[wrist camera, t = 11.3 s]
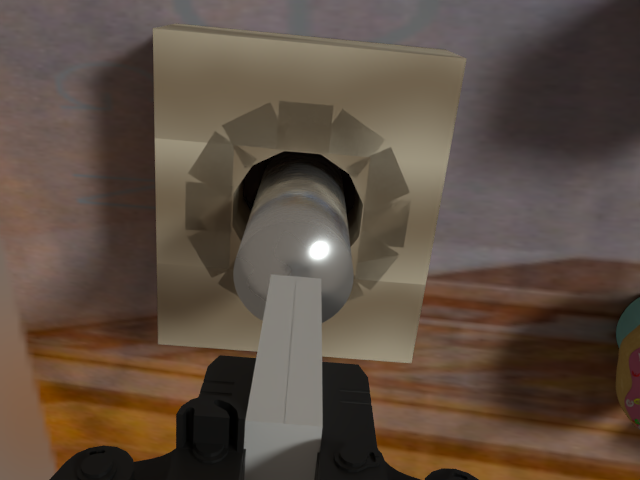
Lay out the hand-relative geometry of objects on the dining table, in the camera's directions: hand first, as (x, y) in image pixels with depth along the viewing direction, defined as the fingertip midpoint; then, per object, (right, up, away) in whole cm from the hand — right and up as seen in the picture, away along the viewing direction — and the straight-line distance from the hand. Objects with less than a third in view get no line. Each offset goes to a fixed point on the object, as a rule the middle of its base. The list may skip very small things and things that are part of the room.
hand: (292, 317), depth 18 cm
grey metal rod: (0, +5, +11) cm, 12 cm away
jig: (0, +5, +11) cm, 12 cm away
